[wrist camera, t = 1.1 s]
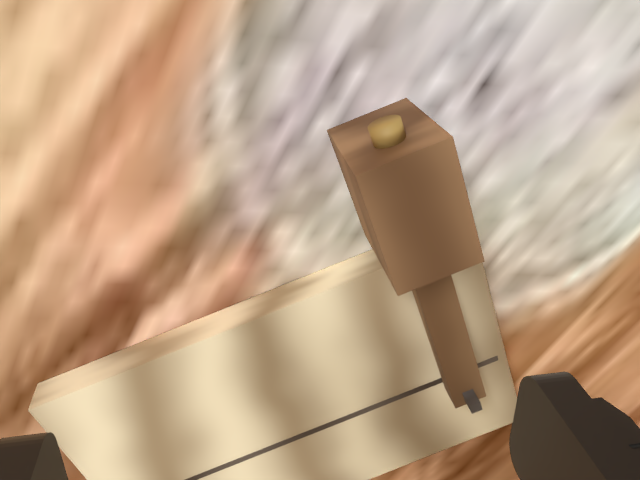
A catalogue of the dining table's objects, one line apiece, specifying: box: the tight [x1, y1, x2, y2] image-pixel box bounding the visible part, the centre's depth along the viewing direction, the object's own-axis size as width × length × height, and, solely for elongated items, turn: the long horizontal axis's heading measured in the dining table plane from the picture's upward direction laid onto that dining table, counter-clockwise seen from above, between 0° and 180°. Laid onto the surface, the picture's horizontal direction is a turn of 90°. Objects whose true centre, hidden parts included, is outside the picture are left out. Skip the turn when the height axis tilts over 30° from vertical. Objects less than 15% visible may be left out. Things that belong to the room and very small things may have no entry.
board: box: [28, 249, 517, 480], centre depth 34 cm, size 24×14×2 cm, turn 110°
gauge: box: [327, 98, 486, 414], centre depth 29 cm, size 4×17×6 cm, turn 20°
